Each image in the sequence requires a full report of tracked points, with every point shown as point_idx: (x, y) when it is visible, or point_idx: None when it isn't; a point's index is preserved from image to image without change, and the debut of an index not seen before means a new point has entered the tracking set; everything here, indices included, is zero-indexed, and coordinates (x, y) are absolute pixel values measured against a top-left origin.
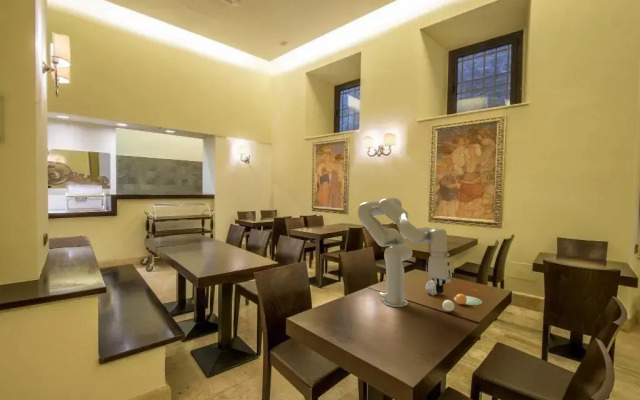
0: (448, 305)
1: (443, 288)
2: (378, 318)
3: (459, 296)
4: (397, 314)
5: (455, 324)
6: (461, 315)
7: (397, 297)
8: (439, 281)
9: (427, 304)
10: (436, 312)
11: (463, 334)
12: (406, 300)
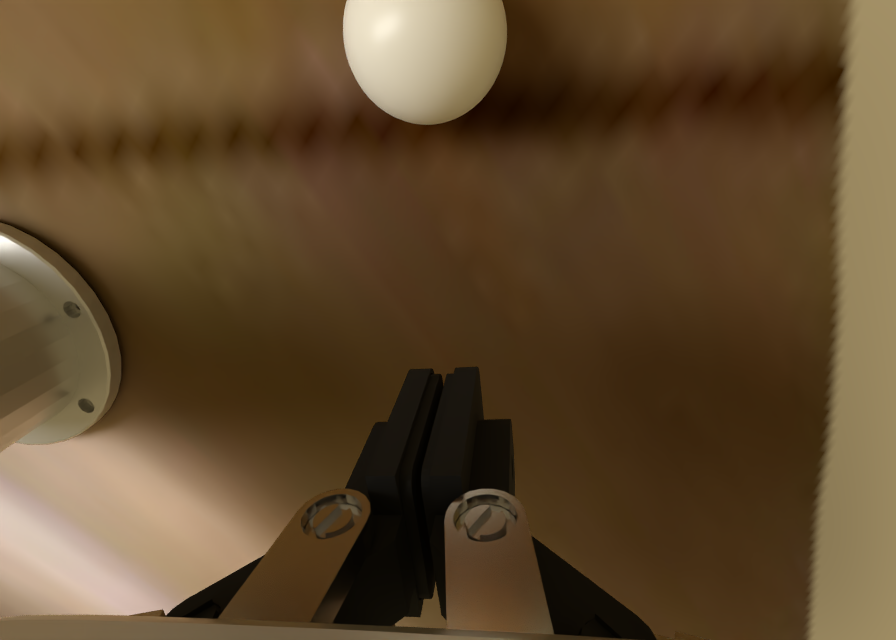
0: (466, 103)
1: (509, 448)
2: None
3: None
4: (237, 503)
5: (673, 321)
6: (615, 36)
7: (13, 433)
8: (356, 547)
9: (158, 71)
10: (382, 207)
11: (809, 443)
12: (7, 239)
